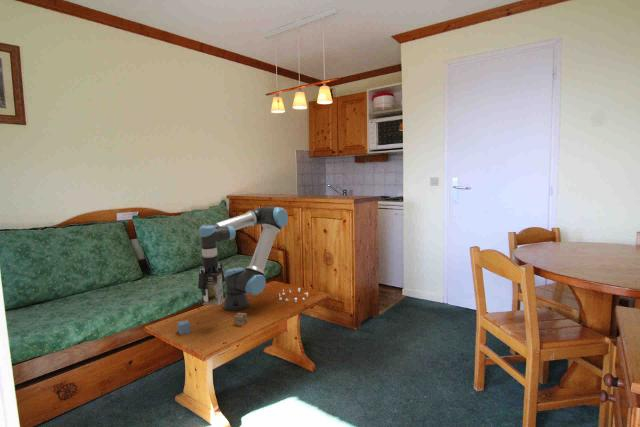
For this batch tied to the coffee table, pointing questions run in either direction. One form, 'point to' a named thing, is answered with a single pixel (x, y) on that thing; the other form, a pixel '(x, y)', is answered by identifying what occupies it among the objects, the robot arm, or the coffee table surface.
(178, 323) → the slate block
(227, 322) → the coffee table surface
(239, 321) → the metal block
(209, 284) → the coffee box
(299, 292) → the game piece set
